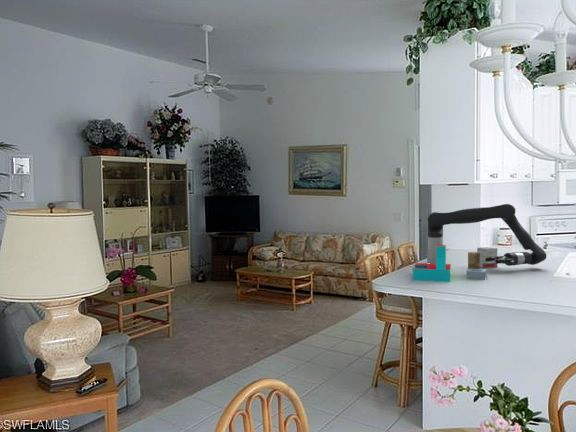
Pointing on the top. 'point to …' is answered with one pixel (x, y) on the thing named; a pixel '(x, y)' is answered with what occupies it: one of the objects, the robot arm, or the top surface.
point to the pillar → (473, 260)
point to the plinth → (476, 274)
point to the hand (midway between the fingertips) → (490, 260)
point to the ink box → (485, 253)
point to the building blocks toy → (434, 268)
